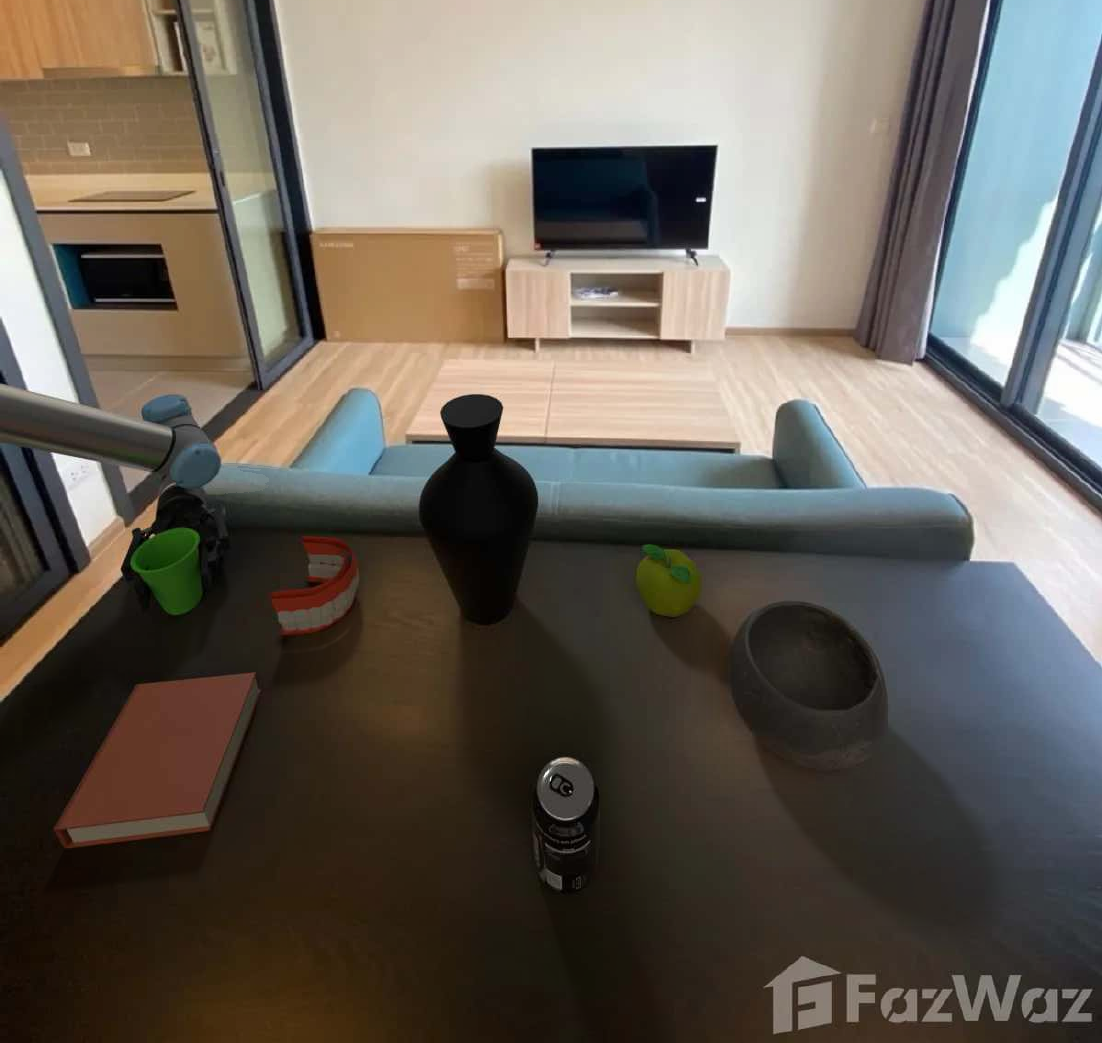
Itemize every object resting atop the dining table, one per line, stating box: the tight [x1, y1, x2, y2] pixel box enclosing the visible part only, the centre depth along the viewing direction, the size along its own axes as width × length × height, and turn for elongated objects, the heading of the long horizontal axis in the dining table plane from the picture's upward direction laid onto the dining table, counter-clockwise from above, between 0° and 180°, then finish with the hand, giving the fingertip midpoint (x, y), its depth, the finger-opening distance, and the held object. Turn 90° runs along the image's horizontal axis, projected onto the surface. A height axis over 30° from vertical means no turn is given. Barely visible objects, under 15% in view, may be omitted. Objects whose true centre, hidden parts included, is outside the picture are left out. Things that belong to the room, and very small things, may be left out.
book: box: [53, 671, 262, 850], centre depth 71 cm, size 15×16×4 cm
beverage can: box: [530, 756, 601, 895], centre depth 60 cm, size 7×7×12 cm
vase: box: [418, 393, 539, 626], centre depth 86 cm, size 17×17×35 cm
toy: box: [269, 535, 360, 636], centre depth 91 cm, size 12×10×8 cm
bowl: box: [727, 600, 889, 771], centre depth 73 cm, size 18×18×13 cm
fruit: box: [635, 543, 702, 618], centre depth 89 cm, size 9×9×10 cm
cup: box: [130, 528, 203, 616], centre depth 92 cm, size 9×9×11 cm
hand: (175, 592), depth 87 cm, fingers open, 7 cm apart
